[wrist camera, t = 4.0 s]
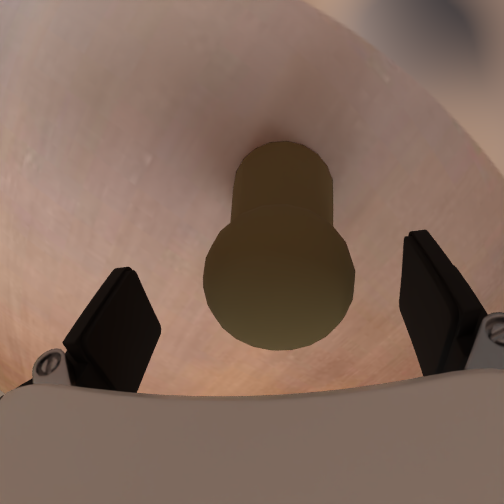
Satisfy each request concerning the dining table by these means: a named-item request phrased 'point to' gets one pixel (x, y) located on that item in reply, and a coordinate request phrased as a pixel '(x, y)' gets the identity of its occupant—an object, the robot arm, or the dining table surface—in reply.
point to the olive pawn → (280, 253)
